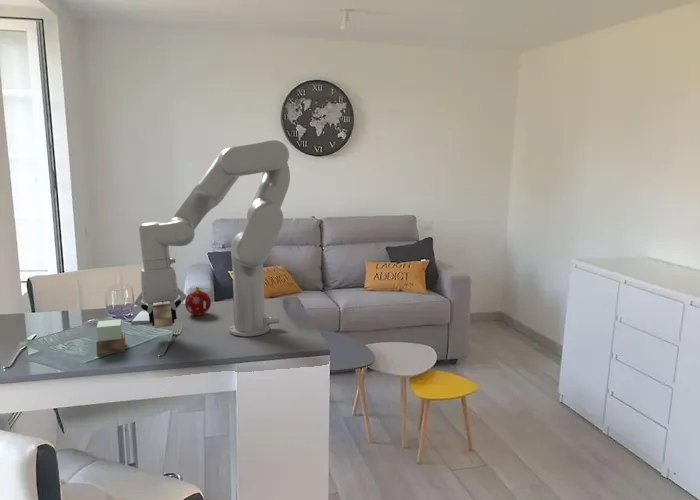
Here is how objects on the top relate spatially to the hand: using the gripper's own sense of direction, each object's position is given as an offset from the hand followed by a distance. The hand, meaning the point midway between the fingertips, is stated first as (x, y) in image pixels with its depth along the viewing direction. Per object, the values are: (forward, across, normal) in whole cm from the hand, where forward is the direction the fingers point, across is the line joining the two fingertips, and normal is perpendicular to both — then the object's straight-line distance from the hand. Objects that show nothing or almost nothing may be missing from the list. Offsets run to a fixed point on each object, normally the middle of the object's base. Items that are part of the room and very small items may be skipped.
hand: (163, 322), depth 163 cm
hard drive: (+6, +5, -24) cm, 25 cm away
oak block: (+1, 0, 0) cm, 1 cm away
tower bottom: (+4, +14, +5) cm, 16 cm away
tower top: (0, +14, +5) cm, 15 cm away
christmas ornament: (+6, -11, -23) cm, 26 cm away
